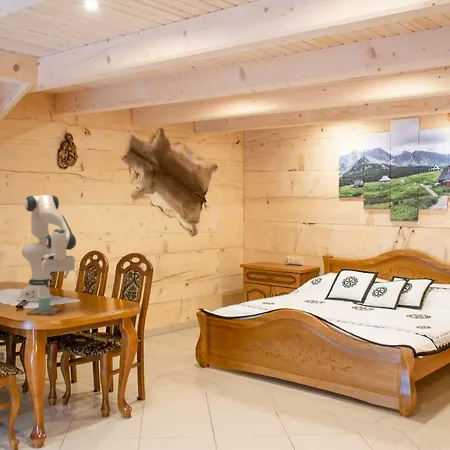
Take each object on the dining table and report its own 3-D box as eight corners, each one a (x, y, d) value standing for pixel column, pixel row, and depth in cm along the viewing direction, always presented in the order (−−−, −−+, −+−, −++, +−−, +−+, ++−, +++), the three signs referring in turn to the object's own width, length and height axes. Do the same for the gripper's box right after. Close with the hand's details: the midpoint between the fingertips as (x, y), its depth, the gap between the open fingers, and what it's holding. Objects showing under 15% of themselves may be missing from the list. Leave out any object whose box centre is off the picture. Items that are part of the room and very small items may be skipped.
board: (26, 315, 358) (26, 304, 358) (35, 309, 374) (35, 300, 374) (53, 315, 358) (53, 305, 358) (61, 310, 374) (61, 300, 374)
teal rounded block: (41, 311, 362) (41, 298, 362) (38, 310, 367) (38, 296, 367) (50, 310, 365) (49, 297, 364) (47, 309, 370) (46, 295, 369)
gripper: (72, 255, 379) (72, 276, 380) (40, 256, 367) (40, 278, 368) (76, 256, 374) (76, 278, 375) (44, 257, 362) (43, 280, 363)
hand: (58, 278), depth 371 cm, fingers open, 8 cm apart
